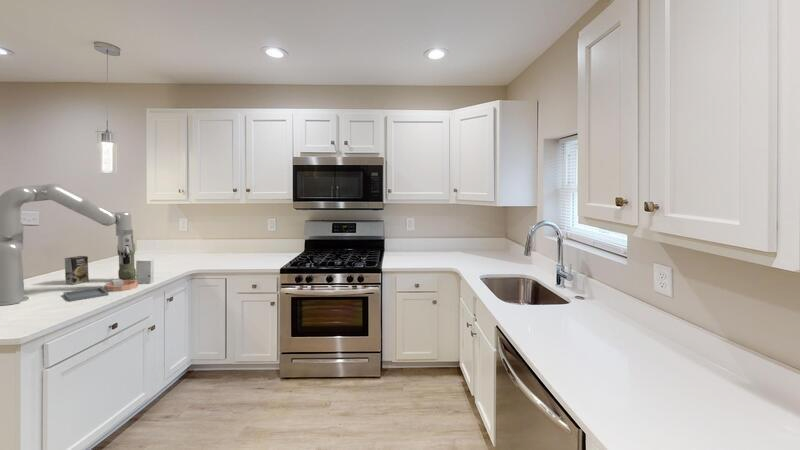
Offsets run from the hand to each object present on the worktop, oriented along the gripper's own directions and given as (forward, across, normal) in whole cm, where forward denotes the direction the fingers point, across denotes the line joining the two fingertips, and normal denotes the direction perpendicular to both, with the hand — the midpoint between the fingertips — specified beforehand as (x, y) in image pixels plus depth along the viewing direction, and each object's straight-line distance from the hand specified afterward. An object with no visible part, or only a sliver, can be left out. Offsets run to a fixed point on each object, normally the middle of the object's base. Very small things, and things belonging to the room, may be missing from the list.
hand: (125, 262), depth 215 cm
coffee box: (+15, +32, +16) cm, 40 cm away
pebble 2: (0, 0, 0) cm, 0 cm away
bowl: (+15, -2, +2) cm, 15 cm away
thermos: (+15, +18, -6) cm, 25 cm away
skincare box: (+15, +6, -12) cm, 20 cm away
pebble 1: (+14, -3, +5) cm, 15 cm away
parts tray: (+15, -6, +20) cm, 25 cm away
